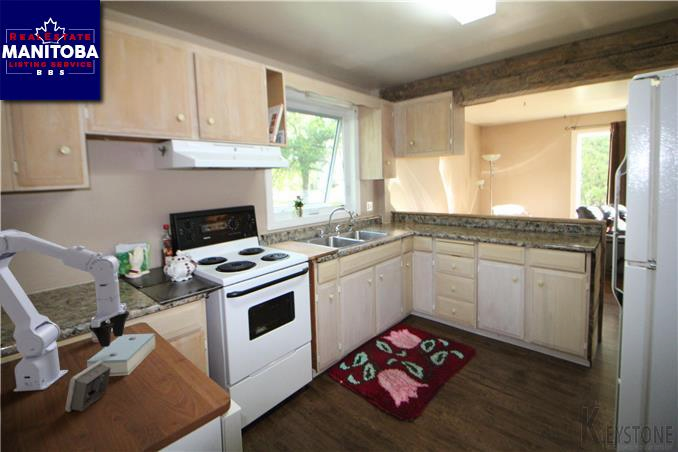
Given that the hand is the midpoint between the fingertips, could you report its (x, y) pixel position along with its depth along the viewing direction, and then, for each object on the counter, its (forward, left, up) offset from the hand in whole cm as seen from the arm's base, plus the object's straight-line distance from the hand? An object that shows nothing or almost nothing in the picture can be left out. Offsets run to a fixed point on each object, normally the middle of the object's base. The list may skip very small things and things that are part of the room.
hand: (112, 341), depth 102 cm
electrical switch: (-15, -3, -9) cm, 18 cm away
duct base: (+6, 0, -9) cm, 11 cm away
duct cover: (+6, 0, -5) cm, 7 cm away
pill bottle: (+23, +17, -9) cm, 30 cm away
